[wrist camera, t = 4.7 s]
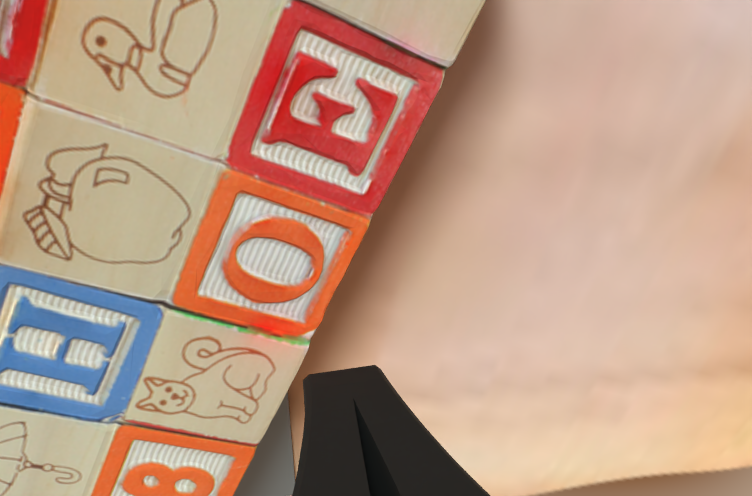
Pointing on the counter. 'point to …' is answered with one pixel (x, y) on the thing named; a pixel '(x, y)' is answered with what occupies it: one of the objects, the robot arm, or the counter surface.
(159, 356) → the stack of blocks
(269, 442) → the mat
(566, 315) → the counter surface
